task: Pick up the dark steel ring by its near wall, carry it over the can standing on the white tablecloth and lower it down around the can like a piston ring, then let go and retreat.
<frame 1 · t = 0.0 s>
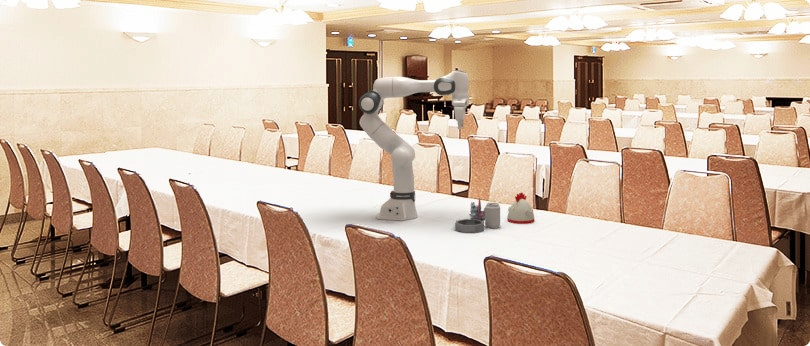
hand: (460, 128, 341), 48 cm above the table, tool pointing down, fingers open, 8 cm apart
brake caliper: (478, 218, 347), on the table
steel ring: (469, 229, 323), on the table
kitchen timer: (520, 221, 340), on the table
can: (492, 227, 328), on the table
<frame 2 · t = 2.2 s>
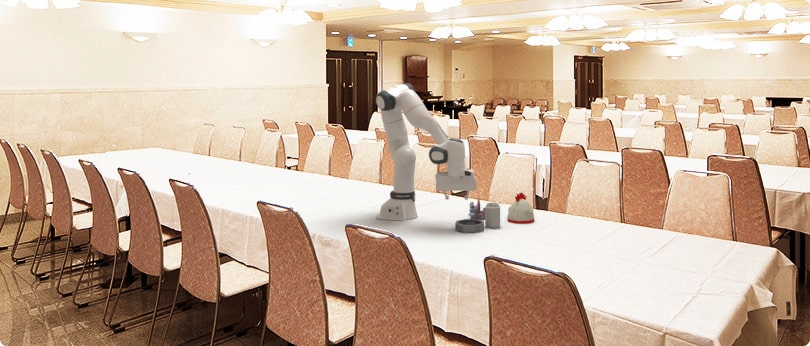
hand: (456, 199, 322), 15 cm above the table, tool pointing down, fingers open, 8 cm apart
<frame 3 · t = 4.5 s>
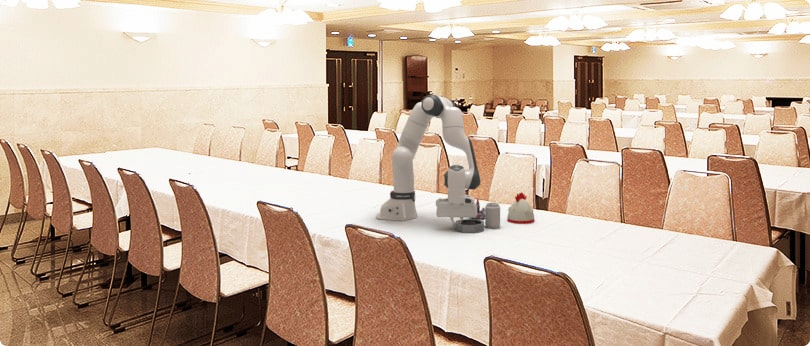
hand: (456, 225, 324), 2 cm above the table, tool pointing down, fingers closed on steel ring
steel ring: (469, 229, 323), on the table, touching gripper
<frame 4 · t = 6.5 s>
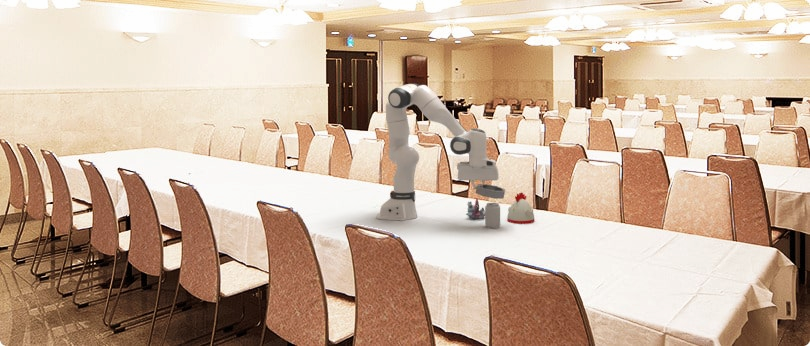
hand: (478, 189, 326), 19 cm above the table, tool pointing down, fingers closed on steel ring
steel ring: (489, 194, 325), point 16 cm above the table, tilted 11°, touching gripper
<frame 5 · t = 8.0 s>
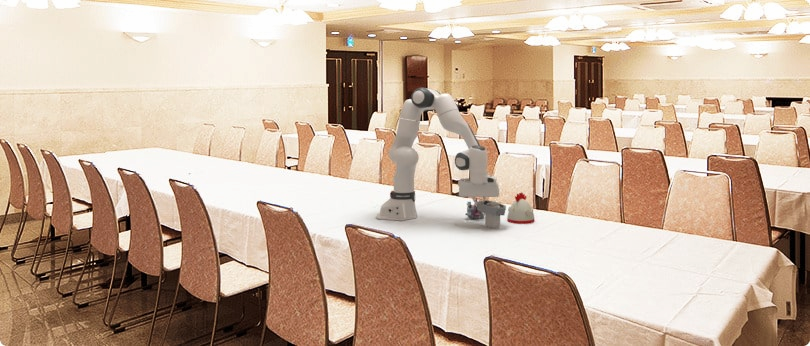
hand: (479, 205, 328), 11 cm above the table, tool pointing down, fingers closed on steel ring
steel ring: (490, 211, 327), point 8 cm above the table, tilted 11°, touching gripper
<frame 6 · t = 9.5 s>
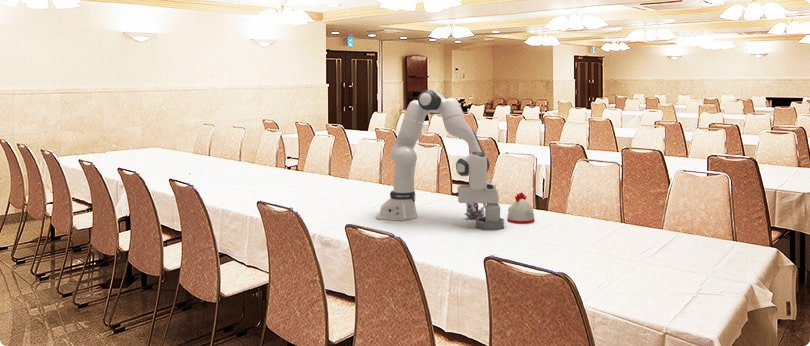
hand: (478, 211, 328), 8 cm above the table, tool pointing down, fingers closed
steel ring: (489, 226, 328), on the table
can: (492, 227, 328), on the table, touching gripper
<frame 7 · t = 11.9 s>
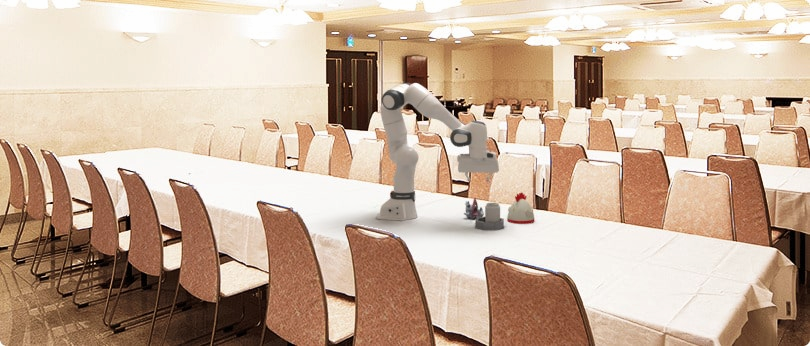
hand: (478, 181, 325), 23 cm above the table, tool pointing down, fingers open, 8 cm apart
can: (492, 227, 328), on the table
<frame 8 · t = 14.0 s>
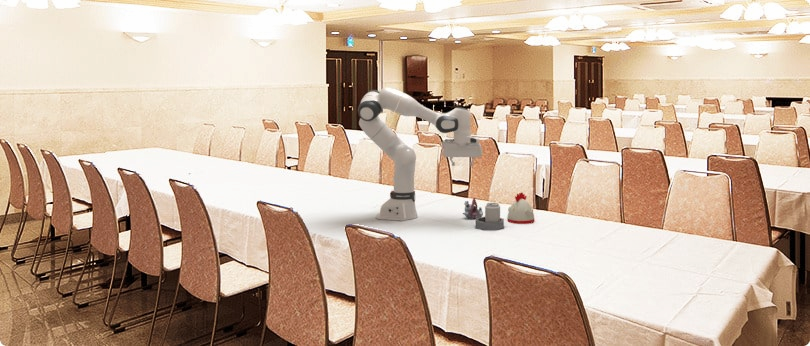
hand: (462, 165, 338), 29 cm above the table, tool pointing down, fingers open, 8 cm apart
at the end: steel ring 1.4 cm from the can (horizontally); steel ring on the table; can tilted 0° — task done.
